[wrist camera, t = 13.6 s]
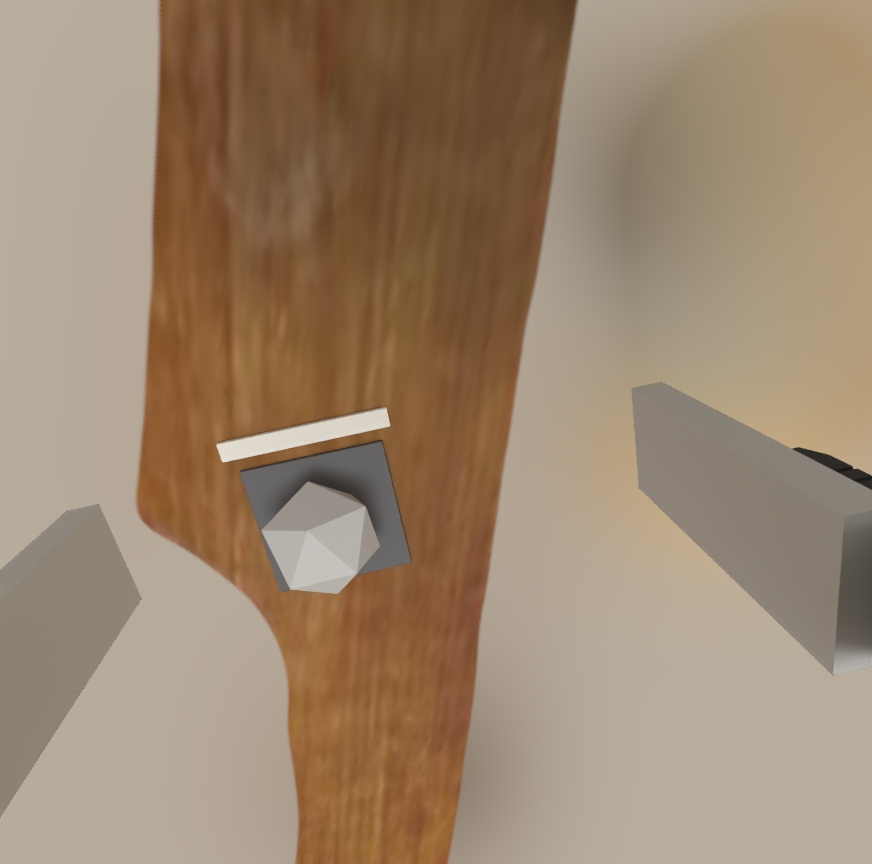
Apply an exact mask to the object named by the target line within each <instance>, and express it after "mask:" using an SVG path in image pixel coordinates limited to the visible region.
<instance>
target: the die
mask: <svg viewBox="0 0 872 864" xmlns="http://www.w3.org/2000/svg"><path fill="white" fill-rule="evenodd" d="M261 531H262V533H263V535H264V537H265V539H266V541H267V543H268V545H269V547H270V549H271V551H272V553H273V555H274V557H275V559H276V561H277V563H278V566H279V568H280V570H281V572H282V574H283V576H284V578H285V580H286V582H287V584H288V586H289V588H290V589H292V590H303V591H313V592H324V593H335V594H338V593H339V592H340V591H341V590H342V589H343V588H344V587H345V586H346V585H347V584H348V582H349V581H350V580H351V579H352V578H353V577H354V576H355V575H356V574H357V573H358V572H359V571H360V569H361V568H362V567H363V566H364V565H365V563H366V562H367V561H368V560H369V559H370V557H371V556H372V555H373V554H374V553H375V551H376V550H377V549H378V548H379V547H380V545H379V542H378V539H377V536H376V534H375V531H374V528H373V525H372V523H371V520H370V517H369V514H368V511H367V509H366V506H365V505H363V504H362V503H361V502H360V501H359V500H357V499H356V498H355V497H354V496H353V495H351V494H348V493H345V492H341V491H338V490H335V489H331V488H328V487H325V486H322V485H318V484H315V483H312V482H307V483H306V484H305V485H304V486H303V487H302V488H301V489H300V490H299V491H298V492H297V493H296V494H295V495H294V496H293V497H292V498H291V500H290V501H289V502H288V503H287V504H286V505H285V506H284V507H283V508H282V509H281V510H280V511H279V512H278V513H277V514H276V515H275V516H274V517H273V519H272V520H271V521H270V522H269V523H268V524H267V525H266V526H265V527H264V528H263V529H262V530H261Z"/></svg>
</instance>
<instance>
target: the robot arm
mask: <svg viewBox="0 0 872 864" xmlns="http://www.w3.org/2000/svg"><path fill="white" fill-rule="evenodd" d="M632 401H633V414H634V428H635V443H636V456H637V468H638V469H637V470H638V483H639V489H640V490H641V491H642V492H643V493H645V494H646V495H647V496H648V497H649V498H650V499H651V500H652V501H653V502H654V503H655V504H656V505H657V506H658V507H659V508H660V509H661V510H662V511H663V512H664V513H665V514H666V515H667V516H668V517H669V518H670V519H671V520H673V521H674V522H675V523H676V524H677V525H678V526H679V527H680V528H681V529H682V530H683V531H684V532H685V533H686V534H687V535H688V536H689V537H690V538H691V539H692V540H693V541H694V542H695V543H696V544H697V545H698V546H699V547H701V548H702V549H703V550H704V551H705V552H706V553H707V554H708V555H709V556H710V557H711V558H712V559H713V560H714V561H715V562H716V563H717V564H718V565H719V566H720V567H721V568H722V569H723V570H724V571H725V572H726V573H727V574H728V575H729V576H730V577H731V578H733V579H734V580H735V581H736V582H737V583H738V584H739V585H740V586H741V587H742V588H743V589H744V590H745V591H746V592H747V593H748V594H749V595H750V596H751V597H752V598H753V599H754V600H755V601H757V603H758V604H759V605H760V606H761V607H763V608H764V609H765V610H766V611H767V612H768V613H769V614H770V615H771V616H772V617H773V618H774V619H775V620H776V621H777V622H778V623H779V624H780V625H781V626H782V627H783V628H784V629H785V630H787V632H789V634H790V635H792V636H793V637H794V638H795V639H796V640H797V641H798V642H799V643H800V644H801V645H802V646H803V647H804V648H805V649H806V650H807V651H808V652H809V653H810V654H811V655H812V656H814V658H815V659H817V661H818V662H819V663H821V664H822V665H823V666H824V667H825V668H826V669H827V670H828V671H829V672H830V673H831V674H832V675H837V674H842V673H846V672H850V671H854V670H858V669H863V668H867V667H871V666H872V476H871V475H869V474H867V473H865V472H863V471H861V470H859V469H853V467H852V466H851V465H848V464H847V463H845V462H843V461H840V460H838V459H836V458H834V457H832V456H830V455H827V454H823V453H819V452H815V451H811V450H807V449H803V448H799V447H798V448H793V449H791V448H789V447H787V446H785V445H783V444H781V443H779V442H777V441H775V440H774V439H772V438H770V437H768V436H766V435H764V434H762V433H760V432H758V431H756V430H754V429H752V428H750V427H748V426H746V425H744V424H743V423H740V422H738V421H736V420H735V419H733V418H731V417H729V416H727V415H725V414H723V413H721V412H719V411H717V410H715V409H713V408H712V407H709V406H708V405H706V404H704V403H702V402H700V401H698V400H696V399H694V398H692V397H690V396H688V395H686V394H684V393H682V392H680V391H678V390H677V389H675V388H672V387H671V386H669V385H667V384H665V383H663V382H659V383H654V384H650V385H645V386H640V387H636V388H632ZM141 599H142V598H141V596H140V594H139V592H138V590H137V587H136V585H135V583H134V581H133V578H132V576H131V574H130V572H129V570H128V567H127V565H126V563H125V561H124V559H123V556H122V554H121V552H120V550H119V548H118V545H117V543H116V541H115V539H114V537H113V534H112V532H111V530H110V528H109V525H108V523H107V521H106V519H105V517H104V515H103V512H102V510H101V508H100V506H99V504H97V505H92V506H88V507H83V508H78V509H74V510H70V511H66V512H65V513H64V514H63V515H62V516H61V517H59V518H58V519H57V520H56V521H55V522H54V523H53V524H52V525H50V526H49V527H48V528H47V529H46V530H45V531H44V532H43V533H42V534H40V535H39V536H38V537H37V538H36V539H35V540H34V541H32V542H31V543H30V544H29V545H28V546H27V547H26V548H25V549H24V550H22V551H21V552H20V553H19V554H18V555H17V556H16V557H15V558H13V559H12V560H11V561H10V562H9V563H8V564H7V565H6V566H4V567H3V568H2V569H1V570H0V817H1V815H2V814H3V812H4V811H5V809H6V808H7V806H8V805H9V803H10V801H11V800H12V798H13V797H14V795H15V794H16V792H17V791H18V789H19V788H20V786H21V784H22V783H23V781H24V780H25V778H26V777H27V775H28V774H29V772H30V771H31V769H32V767H33V766H34V764H35V763H36V761H37V760H38V758H39V757H40V755H41V754H42V752H43V750H44V749H45V747H46V746H47V744H48V743H49V741H50V740H51V738H52V737H53V735H54V733H55V732H56V730H57V729H58V727H59V725H60V724H61V723H62V721H63V720H64V718H65V716H66V715H67V713H68V712H69V710H70V709H71V707H72V706H73V704H74V703H75V701H76V699H77V698H78V696H79V695H80V693H81V691H82V690H83V689H84V687H85V686H86V684H87V682H88V680H89V679H90V678H91V676H92V675H93V673H94V672H95V670H96V669H97V667H98V665H99V664H100V662H101V661H102V659H103V658H104V656H105V654H106V653H107V651H108V650H109V648H110V647H111V645H112V644H113V642H114V641H115V639H116V638H117V636H118V635H119V633H120V631H121V630H122V628H123V627H124V625H125V624H126V622H127V621H128V619H129V617H130V616H131V614H132V613H133V611H134V610H135V608H136V607H137V605H138V604H139V602H140V600H141Z"/></svg>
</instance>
